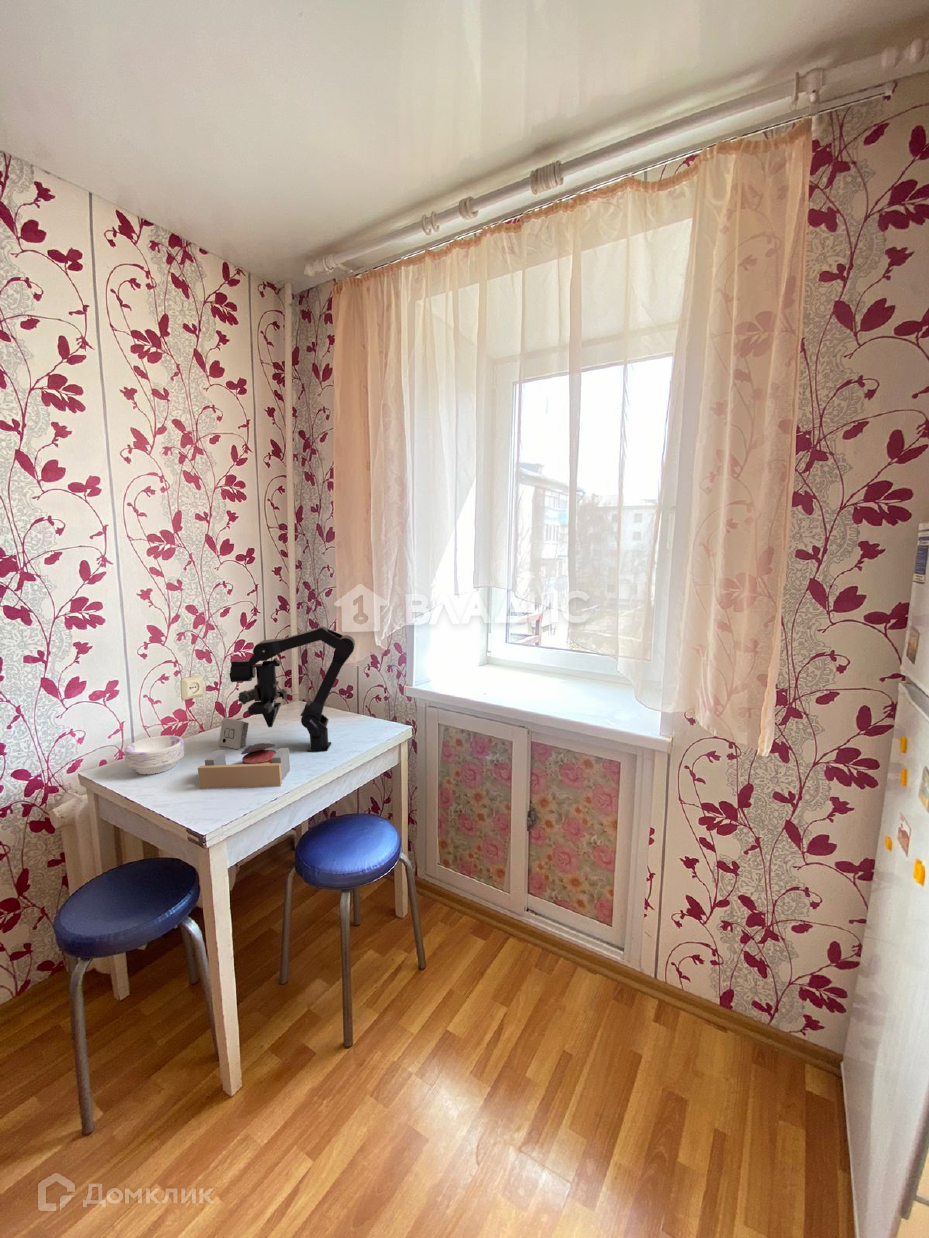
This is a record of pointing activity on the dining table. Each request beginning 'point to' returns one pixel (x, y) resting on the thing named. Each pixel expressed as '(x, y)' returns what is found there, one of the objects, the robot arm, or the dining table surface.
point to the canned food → (258, 754)
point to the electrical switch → (233, 733)
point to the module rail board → (243, 772)
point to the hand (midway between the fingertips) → (270, 726)
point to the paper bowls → (154, 754)
